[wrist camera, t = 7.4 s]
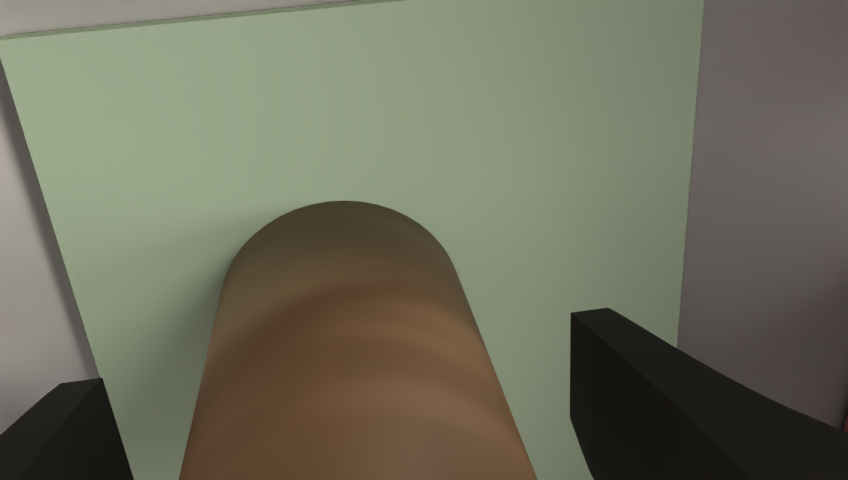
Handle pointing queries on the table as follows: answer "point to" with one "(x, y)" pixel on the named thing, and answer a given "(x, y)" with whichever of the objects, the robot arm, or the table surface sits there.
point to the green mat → (367, 175)
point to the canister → (846, 425)
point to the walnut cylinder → (348, 360)
